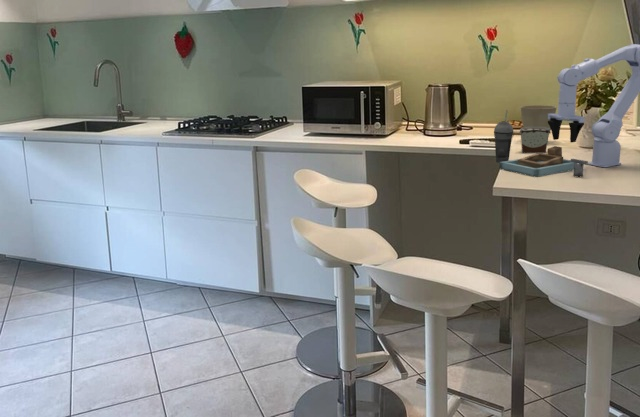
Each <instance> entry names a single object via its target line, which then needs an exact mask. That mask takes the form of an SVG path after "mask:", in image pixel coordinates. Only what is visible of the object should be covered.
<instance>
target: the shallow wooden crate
mask: <svg viewBox="0 0 640 417" xmlns="http://www.w3.org/2000/svg"><path fill="white" fill-rule="evenodd" d="M546 151H547V153H532V154H531V155H528V156H525V157H522V158H518V159H519V160H518V165H522V166H527V167H532V168H541V167H547V166H552V165H558V164H563V159H564V156H563V147H562V146H556V145H554V146H552V147H548V148H546ZM537 161H544V162H542V163H539V162H537Z"/></svg>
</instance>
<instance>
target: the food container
mask: <svg viewBox="0 0 640 417" xmlns="http://www.w3.org/2000/svg"><path fill="white" fill-rule="evenodd" d="M550 134H551V135H552V131H550V128H546V127H521V128H520V129H519V135H520V140H521V141H520V144H521V154H536V153H545V154H547V149H548V148H547V146H548V143H549V136H550Z"/></svg>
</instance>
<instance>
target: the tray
mask: <svg viewBox="0 0 640 417" xmlns="http://www.w3.org/2000/svg"><path fill="white" fill-rule="evenodd" d="M519 159H520V158H516V159H511V160H510V159H509V160H508V161H504V162H500V163H499V170H502V169H504V170H503V171H508V172H511V171H512V172H511V173H516V172H517V173H516V174H520V173H521V174H520V175H525V174H526V176H531V177H534V176H535V178H536V177H542V176H549V175H553V174H559V173H564V172H569V171H574V162H571V159H565V158H563V164H558V165H552V166H547V167H541V168H532V167H527V166H522V165H518V160H519ZM537 162H539V163H542V162H544V161H537Z"/></svg>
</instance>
